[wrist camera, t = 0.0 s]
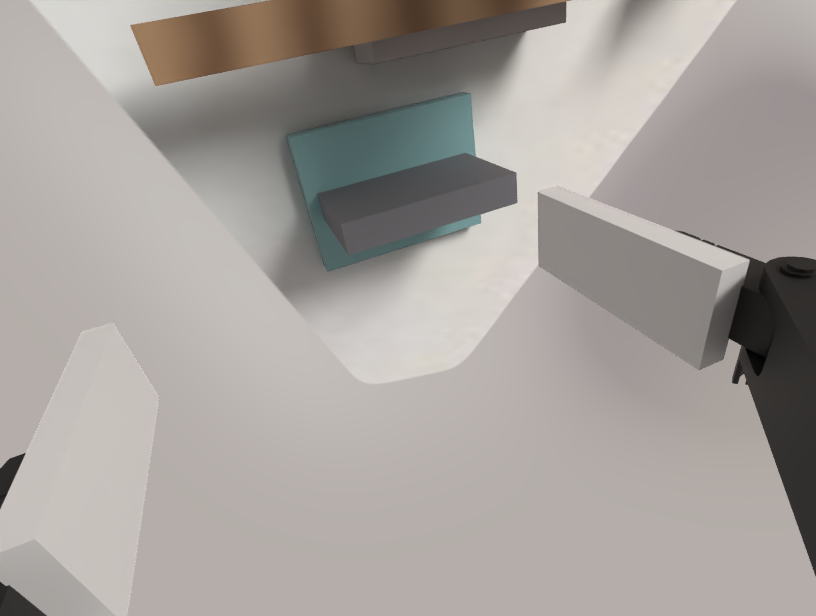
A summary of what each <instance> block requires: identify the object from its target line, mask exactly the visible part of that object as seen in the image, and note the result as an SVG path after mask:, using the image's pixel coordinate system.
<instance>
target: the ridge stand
mask: <svg viewBox="0 0 816 616" xmlns="http://www.w3.org/2000/svg"><path fill="white" fill-rule="evenodd" d="M286 137H287V141H288V144H289V147H290V151H291V154H292V157H293V161H294V164H295V168H296V171H297V174H298V178H299V181H300V185H301V188H302V191H303V195H304V198H305V201H306V205H307V208H308V212H309V215H310V218H311V222H312V225H313V229H314V232H315V235H316V239H317V242H318V245H319V249H320V252H321V256H322V259H323V262H324V266H325V267H326V269H327V271H331V270H334V269H337V268H341V267H344V266H347V265H350V264H353V263H356V262H360V261H363V260H366V259H369V258H372V257H375V256H379V255H382V254H385V253H388V252H391V251H394V250H397V249H401V248H404V247H407V246H410V245H413V244H416V243H420V242H423V241H426V240H429V239H432V238H435V237H439V236H442V235H445V234H448V233H451V232H454V231H458V230H461V229H464V228H467V227H470V226H473V225H476V224H480V223H481V214H483V213H486V212H490V211H493V210H496V209H499V208H502V207H506V206H509V205H512V204H515V203H517V180H516V172H513V171H510V170H508V169H505V168H503V167H500V166H498V165H495V164H493V163H490V162H488V161H485V160H483V159H480V158H478V157H476V154H475V142H474V130H473V119H472V107H471V95H470V93H464V92H462V93H457V94H453V95H449V96H445V97H441V98H437V99H433V100H429V101H425V102H421V103H416V104H412V105H408V106H404V107H400V108H396V109H392V110H388V111H384V112H379V113H375V114H371V115H367V116H363V117H359V118H355V119H351V120H347V121H343V122H338V123H334V124H330V125H326V126H322V127H318V128H314V129H310V130H306V131H302V132H297V133H293V134H289V135H286Z"/></svg>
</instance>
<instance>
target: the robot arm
mask: <svg viewBox="0 0 816 616" xmlns="http://www.w3.org/2000/svg"><path fill="white" fill-rule="evenodd" d="M538 255H539V266H540V267H541V268H543V269H544V270H546V271H547V272H549V273H550V274H552V275H553V276H555V277H557V278H558V279H560V280H561V281H563V282H564V283H566V284H567V285H569V286H571V287H572V288H574V289H575V290H577V291H578V292H580V293H581V294H583V295H584V296H586V297H587V298H589V299H590V300H592V301H593V302H595V303H597V304H598V305H600V306H601V307H603V308H604V309H606V310H607V311H609V312H610V313H612V314H614V315H615V316H616V317H618V318H620V319H621V320H623V321H624V322H626V323H627V324H629V325H630V326H632V327H633V328H635V329H636V330H638V331H640V332H641V333H643V334H644V335H646V336H647V337H649V338H650V339H652V340H653V341H655V342H657V343H658V344H660V345H661V346H663V347H664V348H666V349H667V350H669V351H670V352H672V353H674V354H675V355H676V356H678V357H680V358H681V359H683V360H684V361H686V362H687V363H689V364H690V365H692V366H693V367H695V368H697V369H698V370H701V369H703V368H705V367H707V366H710V365H712V364H714V363H716V362H719V361H721V360H723V359H724V355H725V351H726V347H727V344H728V340H729V339H731V340H733V341H735V342H737V343H738V344H740V345H742V346H741V349H740V353H739V356H738V360H737V363H736V367H735V371H734V374H733V378H732V383H735V384H738V381H739V378H740V376H741V375H743V374H745V377H746V385H748V386H749V389H750V391H751V394H752V397H753V400H754V403H755V406H756V408H757V411H758V414H759V417H760V420H761V423H762V425H763V428H764V431H765V434H766V437H767V439H768V442H769V445H770V448H771V451H772V454H773V457H774V459H775V462H776V465H777V468H778V471H779V474H780V476H781V479H782V482H783V485H784V488H785V491H786V493H787V496H788V499H789V502H790V505H791V508H792V510H793V513H794V516H795V519H796V521H797V525H798V527H799V530H800V533H801V536H802V539H803V542H804V544H805V547H806V550H807V553H808V556H809V559H810V561H811V564H812V567H813V570H814V573H815V576H816V260H814V259H810V258H804V257H779V258H776V259H772V260H770V261H768V262H767V263H764V262H761V261H758V260H756V259H753V258H751V257H748V256H745V255H743V254H740V253H737V252H735V251H732V250H730V249H727V248H724V247H722V246H719V245H717V246H715V244H714V243H711V242H709V241H706V240H701V239H700V238H698V237H696V236H693V235H690V234H688V233H685V232H681V231H676V230H671V229H668V228H666V227H663V226H661V225H658V224H655V223H653V222H650V221H648V220H645V219H642V218H639V217H637V216H635V215H632V214H629V213H627V212H624V211H622V210H619V209H616V208H614V207H611V206H608V205H606V204H603V203H601V202H598V201H596V200H593V199H590V198H588V197H585V196H583V195H580V194H577V193H575V192H572V191H570V190H567V189H565V188H562V187H559V186H556V187H552V188H549V189H546V190H543V191H539V192H538ZM158 404H159V396H158V395H157V393H156V391H155V390H154V388H153V386H152V385H151V383H150V382H149V380H148V378H147V377H146V375H145V373H144V372H143V370H142V369H141V367H140V366H139V364H138V362H137V361H136V359H135V357H134V356H133V354H132V352H131V351H130V349H129V348H128V346H127V345H126V343H125V341H124V340H123V338H122V336H121V335H120V333H119V332H118V330H117V328H116V327H115V325H114V323H113V322H112V323H108V324H105V325H102V326H99V327H96V328H92V329H89V330H86V331H83V332H81V334H80V337H79V339H78V341H77V343H76V345H75V347H74V350H73V352H72V354H71V356H70V358H69V360H68V363H67V365H66V367H65V369H64V371H63V374H62V376H61V378H60V380H59V382H58V385H57V387H56V389H55V391H54V393H53V395H52V398H51V400H50V402H49V404H48V406H47V408H46V411H45V413H44V415H43V417H42V419H41V422H40V424H39V426H38V428H37V430H36V432H35V435H34V437H33V439H32V441H31V444H30V446H29V448H28V450H27V452H26V453H24V454H22V455H19V456H16V457H13V458H10V459H9V460H8V461H7V462H6V463H5V464H4V465H3V466H2V468H1V469H0V616H128V609H129V602H130V596H131V589H132V582H133V575H134V568H135V561H136V555H137V547H138V541H139V534H140V527H141V519H142V513H143V507H144V499H145V493H146V486H147V479H148V472H149V466H150V459H151V452H152V445H153V438H154V431H155V425H156V417H157V411H158Z"/></svg>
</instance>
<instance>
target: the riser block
mask: <svg viewBox="0 0 816 616" xmlns="http://www.w3.org/2000/svg"><path fill="white" fill-rule="evenodd" d="M565 22H566V1H565V2H560V3H555V4H550V5H545V6H541V7H536V8H531V9H526V10H521V11H516V12H512V13H507V14H502V15H497V16H492V17H487V18H483V19H478V20H473V21H468V22H463V23H458V24H454V25H449V26H444V27H439V28H434V29H429V30H425V31H420V32H415V33H410V34H405V35H400V36H396V37H391V38H386V39H381V40H376V41H371V42H367V43H362V44H357V45H353V47H354V52H355V57H356V62H357V63H368V64H377V63H382V62H387V61H391V60H396V59H400V58H405V57H409V56H414V55H419V54H423V53H428V52H432V51H437V50H442V49H446V48H451V47H455V46H460V45H464V44H469V43H474V42H478V41H483V40H487V39H492V38H496V37H501V36H506V35H510V34H515V33H519V32H524V31H528V30H533V29H538V28H542V27H547V26H551V25H556V24H560V23H565Z"/></svg>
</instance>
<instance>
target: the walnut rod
mask: <svg viewBox="0 0 816 616" xmlns="http://www.w3.org/2000/svg"><path fill="white" fill-rule="evenodd" d="M565 1H570V0H270V1H265V2H259V3H253V4H248V5H242V6H236V7H231V8H225V9H220V10H214V11H208V12H203V13H197V14H191V15H186V16H180V17H174V18H169V19H163V20H157V21H152V22H146V23H140V24H135V25H130V26H131V29H132V31H133V33H134V36H135V38H136V41H137V43H138V45H139V48H140V50H141V52H142V55H143V57H144V60H145V62H146V64H147V67H148V69H149V72H150V74H151V76H152V79H153V81H154V83H155V86H159V85H164V84H168V83H173V82H178V81H183V80H188V79H193V78H197V77H202V76H207V75H212V74H217V73H222V72H226V71H231V70H236V69H241V68H246V67H251V66H255V65H260V64H265V63H270V62H275V61H280V60H284V59H289V58H294V57H299V56H304V55H309V54H313V53H318V52H323V51H328V50H333V49H338V48H342V47H347V46H352V45H357V44H362V43H367V42H371V41H376V40H381V39H386V38H391V37H396V36H400V35H405V34H410V33H415V32H420V31H425V30H429V29H434V28H439V27H444V26H449V25H454V24H458V23H463V22H468V21H473V20H478V19H483V18H487V17H492V16H497V15H502V14H507V13H512V12H516V11H521V10H526V9H531V8H536V7H541V6H545V5H550V4H555V3H560V2H565Z"/></svg>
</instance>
